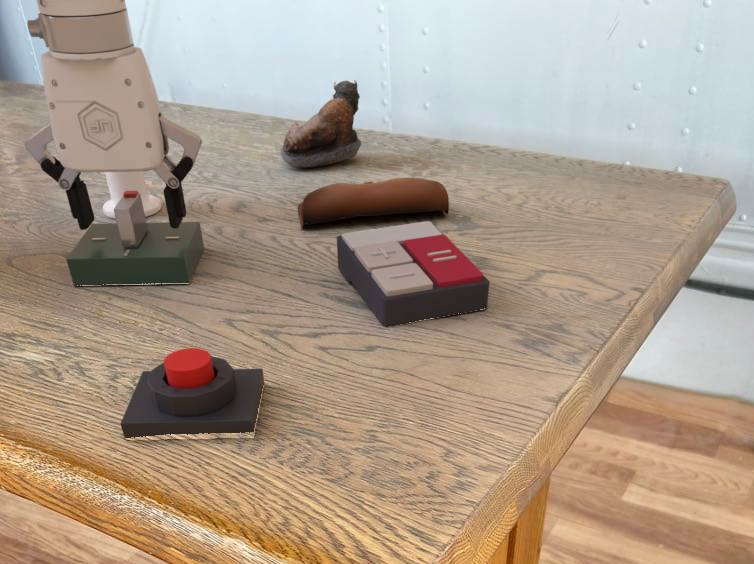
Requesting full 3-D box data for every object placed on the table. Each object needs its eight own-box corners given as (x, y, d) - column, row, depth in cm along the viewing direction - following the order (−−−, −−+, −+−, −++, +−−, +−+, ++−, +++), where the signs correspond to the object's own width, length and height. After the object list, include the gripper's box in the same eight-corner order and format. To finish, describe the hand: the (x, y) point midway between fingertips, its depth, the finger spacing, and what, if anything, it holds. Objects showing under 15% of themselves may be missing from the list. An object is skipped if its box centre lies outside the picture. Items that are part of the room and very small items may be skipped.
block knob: (138, 247, 84) (128, 206, 81) (122, 248, 84) (112, 206, 81) (148, 230, 88) (139, 189, 85) (133, 230, 88) (124, 190, 85)
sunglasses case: (432, 192, 104) (440, 152, 97) (443, 237, 102) (452, 199, 95) (293, 204, 101) (292, 163, 95) (302, 250, 99) (302, 212, 92)
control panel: (74, 287, 84) (65, 257, 82) (98, 250, 91) (91, 222, 89) (189, 285, 84) (183, 255, 82) (204, 248, 92) (199, 220, 89)
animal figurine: (292, 176, 111) (284, 95, 104) (274, 163, 115) (265, 84, 109) (370, 164, 115) (368, 84, 108) (350, 151, 119) (346, 74, 113)
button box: (125, 441, 62) (114, 403, 60) (147, 388, 68) (137, 351, 66) (254, 439, 62) (248, 400, 60) (264, 386, 68) (259, 348, 66)
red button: (164, 391, 62) (159, 371, 61) (172, 368, 65) (168, 348, 63) (210, 390, 62) (207, 370, 61) (217, 367, 65) (214, 347, 64)
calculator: (383, 292, 74) (335, 228, 84) (384, 334, 77) (336, 267, 87) (492, 274, 77) (432, 214, 87) (488, 315, 80) (430, 252, 90)
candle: (125, 197, 104) (71, -38, 88) (172, 203, 103) (126, -36, 86) (92, 216, 99) (28, -30, 83) (141, 222, 98) (85, -28, 81)
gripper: (-22, 43, 70) (38, 239, 82) (176, 41, 71) (209, 236, 82) (8, 28, 76) (60, 213, 87) (191, 26, 76) (220, 211, 88)
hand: (132, 224), depth 85 cm, fingers open, 9 cm apart
